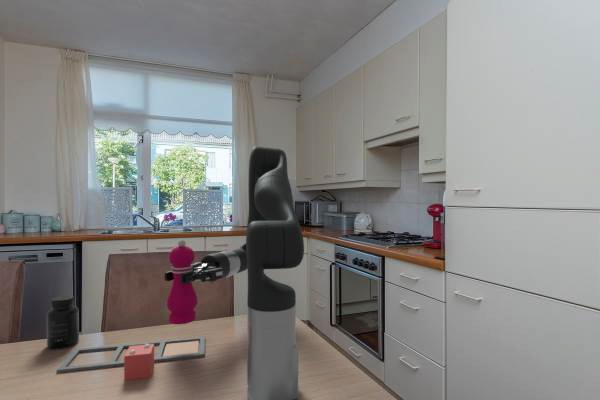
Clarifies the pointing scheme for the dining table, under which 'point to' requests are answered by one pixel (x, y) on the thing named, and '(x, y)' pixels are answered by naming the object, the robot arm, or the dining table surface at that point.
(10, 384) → the dining table surface
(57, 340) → the supplement bottle
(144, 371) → the die
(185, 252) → the pepper mill
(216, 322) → the dining table surface
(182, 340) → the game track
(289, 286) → the robot arm
